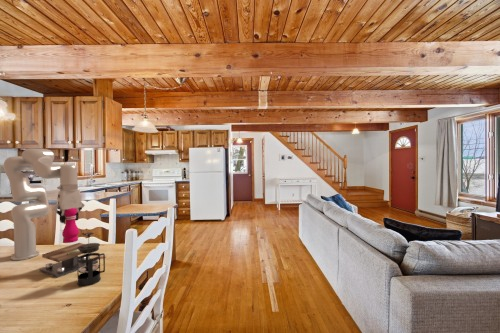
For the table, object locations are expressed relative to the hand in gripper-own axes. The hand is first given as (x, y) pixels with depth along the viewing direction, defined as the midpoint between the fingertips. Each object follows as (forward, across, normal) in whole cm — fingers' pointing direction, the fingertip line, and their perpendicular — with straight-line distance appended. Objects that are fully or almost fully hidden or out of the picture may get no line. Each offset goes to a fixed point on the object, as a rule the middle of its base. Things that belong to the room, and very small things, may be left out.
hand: (69, 221), depth 131 cm
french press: (+25, -5, -26) cm, 36 cm away
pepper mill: (+11, 0, -1) cm, 11 cm away
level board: (+18, 0, 0) cm, 18 cm away
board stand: (+25, 0, 0) cm, 25 cm away
